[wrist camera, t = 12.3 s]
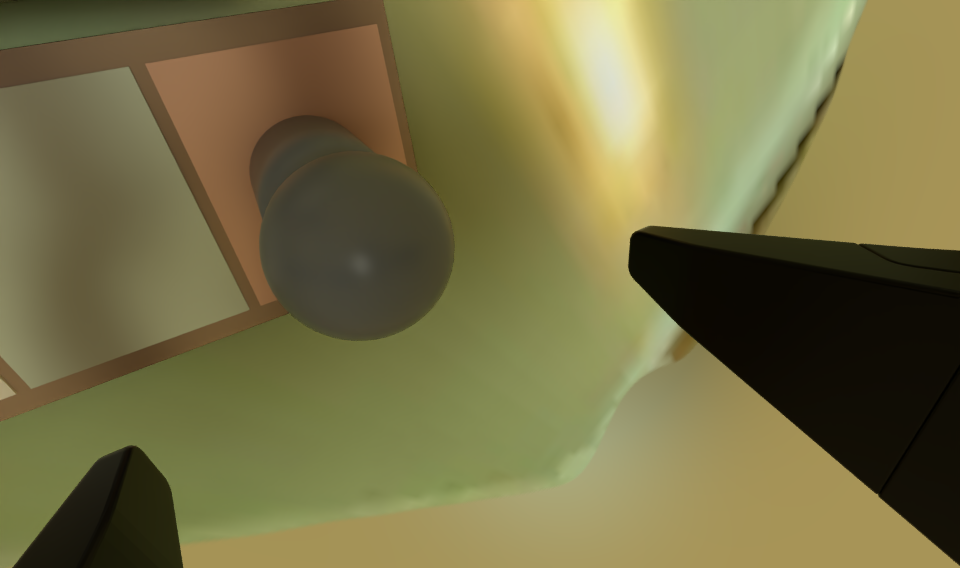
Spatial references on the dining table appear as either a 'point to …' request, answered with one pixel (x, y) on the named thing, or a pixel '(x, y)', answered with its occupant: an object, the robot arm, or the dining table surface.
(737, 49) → the dining table surface
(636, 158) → the dining table surface
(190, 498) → the dining table surface
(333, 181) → the pawn
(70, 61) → the game board
